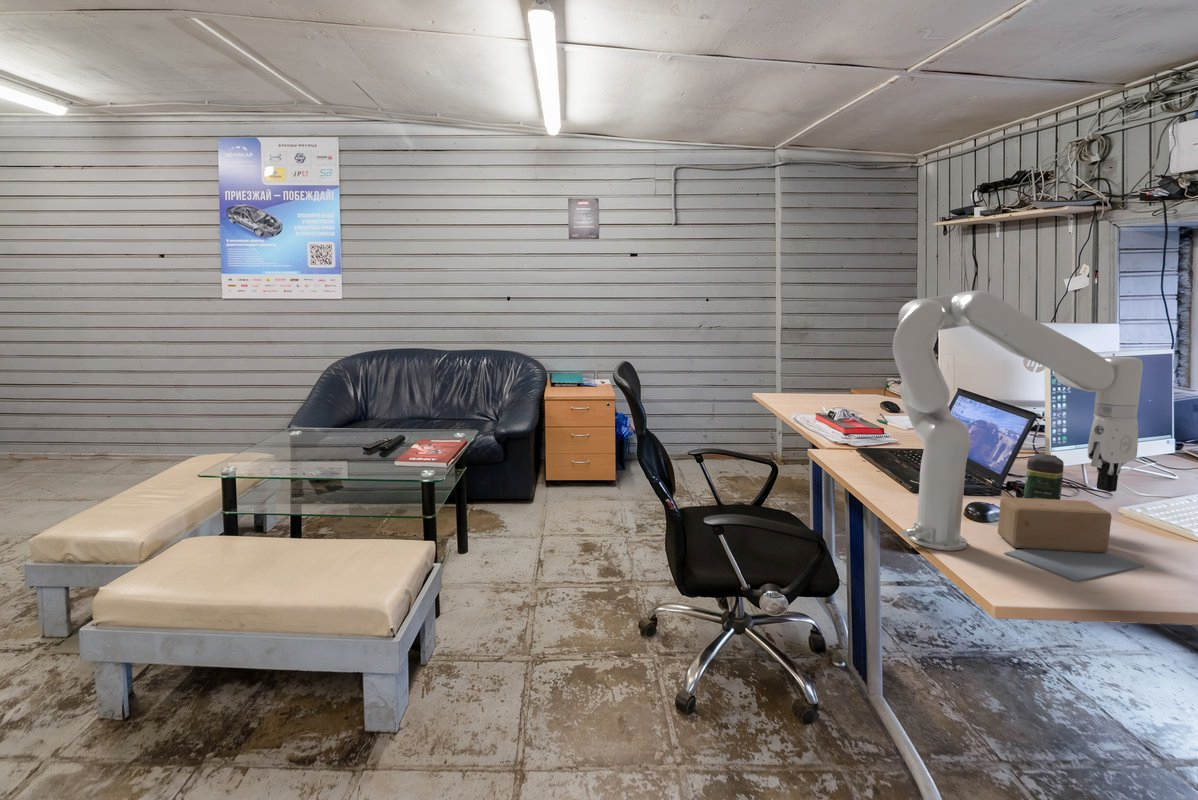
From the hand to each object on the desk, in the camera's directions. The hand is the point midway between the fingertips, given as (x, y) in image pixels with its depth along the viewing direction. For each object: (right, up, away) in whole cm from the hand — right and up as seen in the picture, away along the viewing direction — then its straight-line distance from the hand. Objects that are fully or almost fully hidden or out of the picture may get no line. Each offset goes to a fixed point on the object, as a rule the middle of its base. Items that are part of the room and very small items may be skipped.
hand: (1106, 490), depth 142 cm
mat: (-8, -16, -1) cm, 18 cm away
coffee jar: (+1, -13, +23) cm, 26 cm away
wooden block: (+3, -10, +5) cm, 11 cm away
